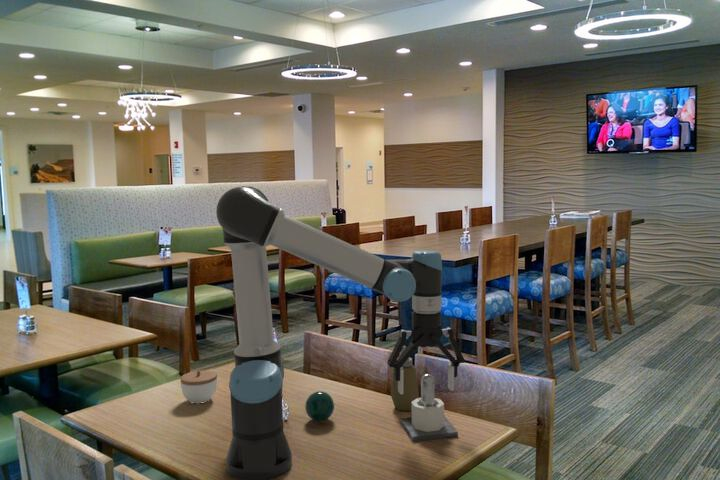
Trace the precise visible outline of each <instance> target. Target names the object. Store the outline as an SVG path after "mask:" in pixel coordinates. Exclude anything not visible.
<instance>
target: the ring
mask: <svg viewBox="0 0 720 480" xmlns="http://www.w3.org/2000/svg"><path fill="white" fill-rule="evenodd" d="M410 411H411V417H412V425H413V427H414V428H415V429H417V430H421V431H425V432H429V431H438V430H440V429H441V428H442V427H444V416H445V403H444V402H443V401H442V399H440V398H435V406H433V407H423V406H421V397H418V398H417V399H415V400H414V401H412V402H411V410H410Z"/></svg>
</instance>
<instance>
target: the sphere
mask: <svg viewBox="0 0 720 480" xmlns="http://www.w3.org/2000/svg"><path fill="white" fill-rule="evenodd" d="M304 406H305V407H304V408H305V413H306V415H307V416H308V417H309V419H311V420H312V421H315V422H324V421H326V420H329V419H330V418H331V417H332V415H333V413H334V410H335V402H334V399H333V397H332V396H331V394H328V393H327V392H325V391H323V390H322V391H321V390H318V391H315V392H312V393H311V394H310V395H309V396H308V397H307V399H306V400H305V405H304Z"/></svg>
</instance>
